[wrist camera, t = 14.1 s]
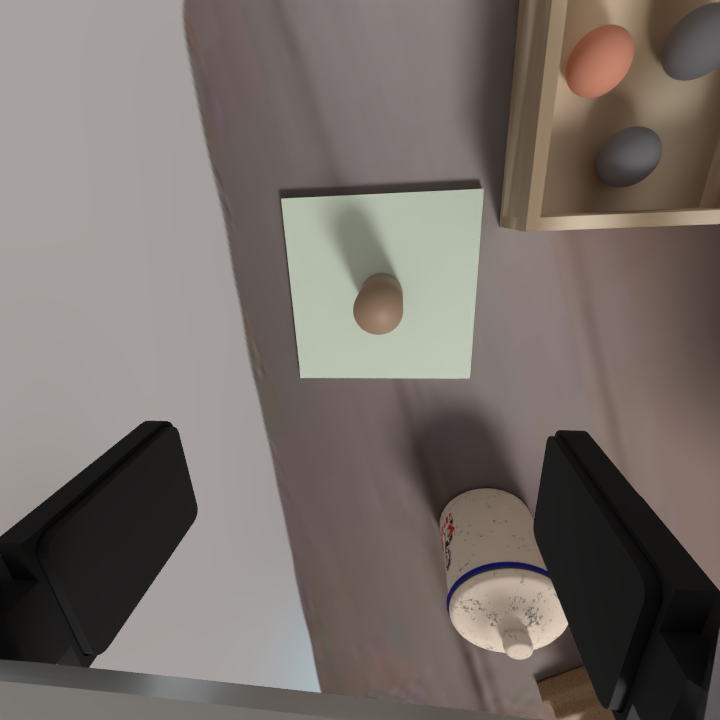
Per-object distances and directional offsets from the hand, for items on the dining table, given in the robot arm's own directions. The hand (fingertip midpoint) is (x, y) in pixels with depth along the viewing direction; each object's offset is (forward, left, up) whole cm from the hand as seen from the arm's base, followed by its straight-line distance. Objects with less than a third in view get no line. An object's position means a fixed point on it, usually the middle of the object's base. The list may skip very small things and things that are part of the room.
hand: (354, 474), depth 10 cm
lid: (0, 0, -22) cm, 22 cm away
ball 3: (-17, -14, -21) cm, 30 cm away
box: (-15, -11, -21) cm, 28 cm away
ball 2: (-15, -8, -21) cm, 27 cm away
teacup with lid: (-10, +24, -22) cm, 34 cm away
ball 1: (-12, -13, -21) cm, 27 cm away
